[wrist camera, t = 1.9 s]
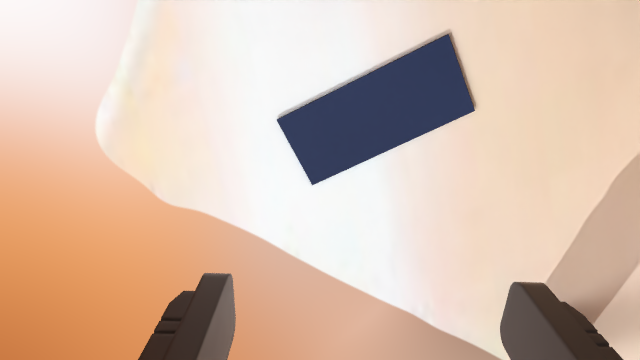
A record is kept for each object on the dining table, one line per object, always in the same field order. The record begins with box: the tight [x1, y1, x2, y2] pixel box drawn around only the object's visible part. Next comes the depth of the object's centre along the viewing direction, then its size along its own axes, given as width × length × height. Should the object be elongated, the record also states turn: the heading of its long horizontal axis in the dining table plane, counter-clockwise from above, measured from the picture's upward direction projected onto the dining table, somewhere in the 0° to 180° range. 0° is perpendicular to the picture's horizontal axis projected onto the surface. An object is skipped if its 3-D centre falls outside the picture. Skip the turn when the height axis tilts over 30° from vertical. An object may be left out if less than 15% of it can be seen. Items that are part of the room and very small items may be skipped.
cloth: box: [277, 34, 475, 185], centre depth 34 cm, size 16×7×1 cm, turn 116°
